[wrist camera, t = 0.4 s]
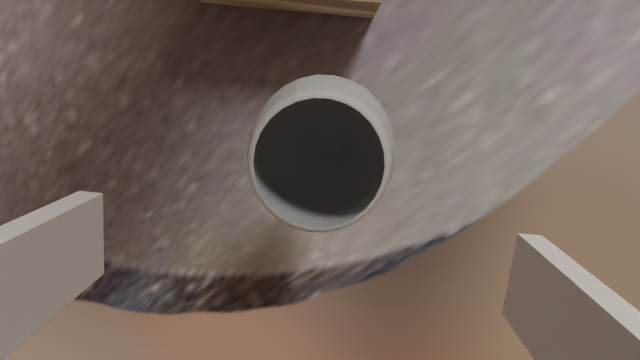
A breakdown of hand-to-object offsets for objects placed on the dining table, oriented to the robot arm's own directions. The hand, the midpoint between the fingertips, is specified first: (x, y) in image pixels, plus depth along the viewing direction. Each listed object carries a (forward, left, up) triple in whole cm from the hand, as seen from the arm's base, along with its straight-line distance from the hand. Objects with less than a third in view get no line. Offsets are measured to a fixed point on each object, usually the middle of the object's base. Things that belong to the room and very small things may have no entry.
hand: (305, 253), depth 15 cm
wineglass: (-2, 0, -26) cm, 26 cm away
